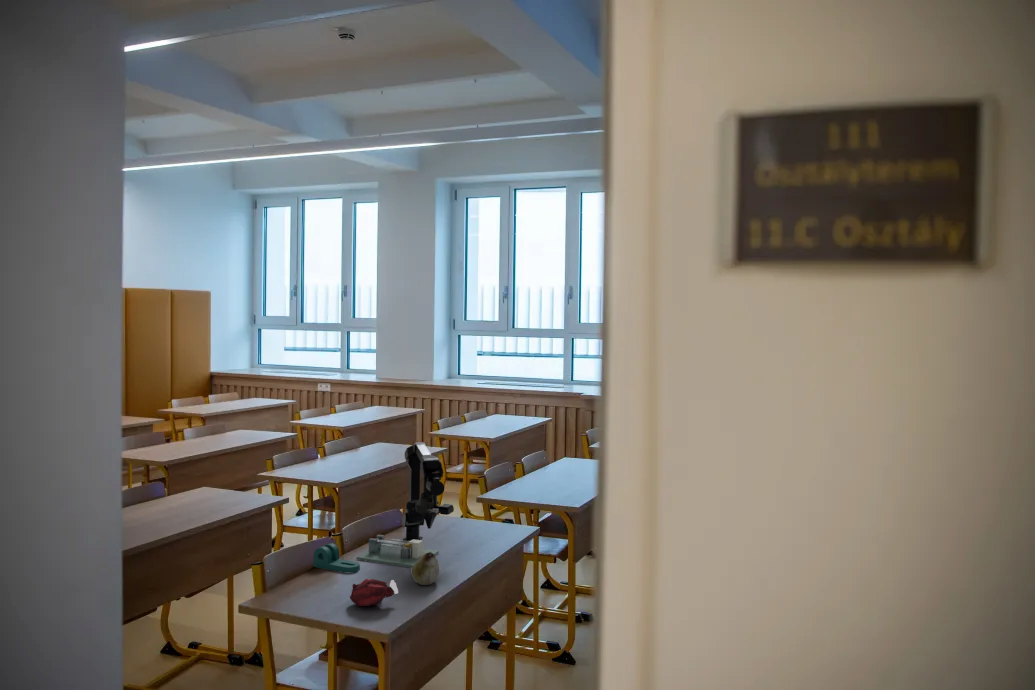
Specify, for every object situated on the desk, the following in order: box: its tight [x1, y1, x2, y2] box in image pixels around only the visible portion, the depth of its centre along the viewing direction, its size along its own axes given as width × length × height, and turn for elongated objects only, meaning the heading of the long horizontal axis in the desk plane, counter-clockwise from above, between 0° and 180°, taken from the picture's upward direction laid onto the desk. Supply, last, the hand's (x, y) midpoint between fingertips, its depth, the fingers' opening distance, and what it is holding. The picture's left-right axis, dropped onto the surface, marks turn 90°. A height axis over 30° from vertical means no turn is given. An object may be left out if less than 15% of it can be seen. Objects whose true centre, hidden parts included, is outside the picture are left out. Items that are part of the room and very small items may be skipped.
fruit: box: [411, 552, 440, 586], centre depth 262 cm, size 10×9×12 cm
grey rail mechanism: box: [368, 534, 412, 559], centre depth 293 cm, size 11×18×6 cm, turn 70°
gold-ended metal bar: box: [377, 538, 413, 548], centre depth 293 cm, size 4×18×2 cm, turn 70°
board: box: [355, 548, 440, 569], centre depth 293 cm, size 20×26×1 cm
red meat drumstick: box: [349, 578, 399, 607], centre depth 241 cm, size 15×13×9 cm
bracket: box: [313, 542, 361, 573], centre depth 278 cm, size 18×7×8 cm, turn 66°
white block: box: [408, 539, 425, 559], centre depth 290 cm, size 5×4×6 cm
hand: (429, 528), depth 292 cm, fingers closed
